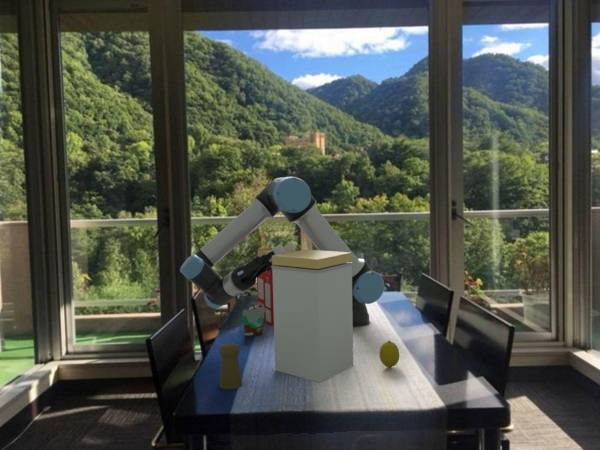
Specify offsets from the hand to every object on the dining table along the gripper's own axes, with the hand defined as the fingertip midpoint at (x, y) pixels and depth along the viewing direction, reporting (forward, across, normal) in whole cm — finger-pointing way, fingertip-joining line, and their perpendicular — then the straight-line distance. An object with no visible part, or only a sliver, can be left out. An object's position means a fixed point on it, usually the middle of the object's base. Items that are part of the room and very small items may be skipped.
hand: (287, 247), depth 154 cm
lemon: (+6, -12, -43) cm, 45 cm away
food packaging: (-50, -33, -11) cm, 61 cm away
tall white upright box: (-10, 0, -34) cm, 35 cm away
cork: (-19, +23, -29) cm, 42 cm away
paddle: (+1, 0, -5) cm, 5 cm away
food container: (-43, -16, -15) cm, 48 cm away
